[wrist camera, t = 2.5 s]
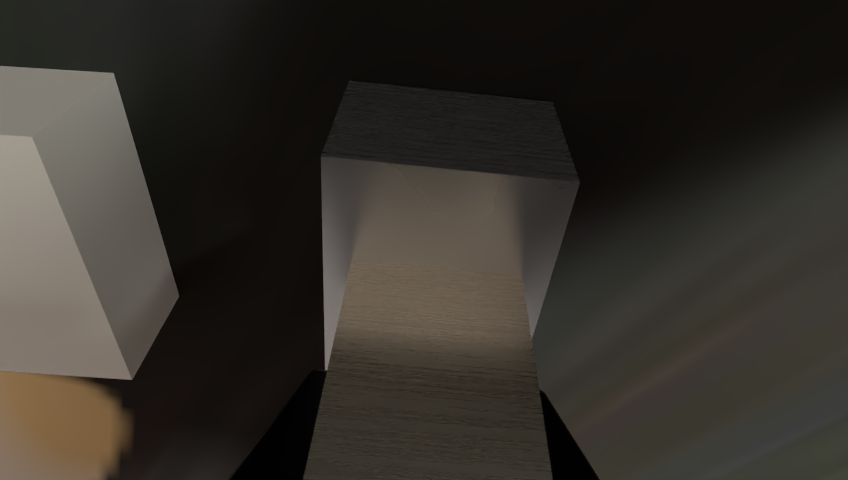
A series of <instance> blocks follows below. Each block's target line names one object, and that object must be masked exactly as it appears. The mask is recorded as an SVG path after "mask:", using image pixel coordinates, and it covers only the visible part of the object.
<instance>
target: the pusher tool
mask: <svg viewBox="0 0 848 480" xmlns="http://www.w3.org/2000/svg"><path fill="white" fill-rule="evenodd" d="M579 184H580V181H579V178H578V175H577V172H576V169H575V166H574V163H573V160H572V157H571V154H570V151H569V148H568V146H567V143H566V140H565V137H564V134H563V131H562V128H561V125H560V122H559V119H558V116H557V113H556V111H555V108H554V105H553V102H549V101H540V100H530V99H521V98H511V97H502V96H492V95H483V94H473V93H464V92H454V91H445V90H435V89H426V88H416V87H407V86H397V85H388V84H378V83H369V82H359V81H350V80H349V82H348V85H347V88H346V90H345V93H344V96H343V98H342V101H341V104H340V106H339V109H338V112H337V114H336V117H335V120H334V122H333V125H332V128H331V130H330V133H329V136H328V138H327V141H326V144H325V146H324V149H323V152H322V154H321V189H322V238H323V287H324V337H325V370H327V373H326V378H325V382H324V387H323V392H322V396H321V401H320V405H319V410H318V414H317V419H316V423H315V428H314V432H313V437H312V441H311V446H310V450H309V455H308V459H307V464H306V469H305V473H304V478H303V480H553V478H552V471H551V465H550V458H549V451H548V445H547V438H546V431H545V425H544V418H543V411H542V405H541V398H540V392H539V385H538V378H537V372H536V365H535V358H534V352H533V345H532V337H533V334H534V331H535V327H536V324H537V321H538V318H539V314H540V311H541V308H542V305H543V301H544V298H545V295H546V292H547V288H548V285H549V282H550V279H551V275H552V272H553V269H554V266H555V262H556V259H557V256H558V253H559V249H560V246H561V243H562V240H563V236H564V233H565V230H566V227H567V223H568V220H569V217H570V214H571V210H572V207H573V204H574V201H575V197H576V194H577V191H578V188H579Z"/></svg>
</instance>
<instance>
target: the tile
mask: <svg viewBox="0 0 848 480" xmlns="http://www.w3.org/2000/svg"><path fill="white" fill-rule="evenodd" d="M178 298H179V293H178V290H177V287H176V283H175V280H174V276H173V273H172V270H171V266H170V263H169V259H168V256H167V253H166V249H165V246H164V242H163V239H162V236H161V232H160V229H159V225H158V222H157V219H156V215H155V212H154V208H153V205H152V202H151V198H150V195H149V191H148V188H147V185H146V181H145V178H144V174H143V171H142V168H141V164H140V161H139V157H138V154H137V151H136V147H135V144H134V140H133V137H132V134H131V130H130V127H129V123H128V120H127V117H126V113H125V110H124V106H123V103H122V100H121V96H120V93H119V90H118V86H117V83H116V79H115V76H114V73H104V72H88V71H72V70H56V69H40V68H24V67H8V66H0V371H4V372H19V373H34V374H50V375H65V376H81V377H96V378H111V379H127V380H132V379H133V378H134V376H135V374H136V372H137V370H138V369H139V367H140V365H141V363H142V362H143V360H144V358H145V356H146V354H147V353H148V351H149V349H150V347H151V346H152V344H153V342H154V340H155V338H156V337H157V335H158V333H159V331H160V330H161V328H162V326H163V324H164V322H165V321H166V319H167V317H168V315H169V314H170V312H171V310H172V308H173V306H174V305H175V303H176V301H177V299H178Z"/></svg>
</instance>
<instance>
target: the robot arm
mask: <svg viewBox="0 0 848 480" xmlns="http://www.w3.org/2000/svg"><path fill="white" fill-rule="evenodd" d="M326 373H327V370H319V369H315V370H313V371H312V372H311V373H310V374H309V375H308V376H307V377H306V379H305V380H304V381H303V383H302V384H301V385H300V387H299V388H298V389H297V390H296V392H295V393H294V394H293V396H292V397H291V398H290V399H289V401H288V402H287V403H286V405H285V406H284V407H283V409H282V410H281V411H280V412H279V414H278V415H277V416H276V418H275V419H274V420H273V421H272V423H271V424H270V425H269V427H268V428H267V429H266V431H265V432H264V433H263V434H262V436H261V437H260V438H259V440H258V441H257V442H256V443H255V445H254V446H253V447H252V449H251V450H250V451H249V453H248V454H247V455H246V456H245V458H244V459H243V460H242V462H241V463H240V464H239V465H238V467H237V468H236V469H235V471H234V472H233V473H232V475H231V476H230V477H229V478H228V480H303V478H304V473H305V469H306V464H307V459H308V455H309V450H310V446H311V441H312V437H313V432H314V428H315V423H316V419H317V414H318V410H319V405H320V401H321V396H322V392H323V387H324V382H325V378H326ZM539 392H540V398H541V405H542V411H543V418H544V425H545V431H546V438H547V445H548V451H549V458H550V465H551V471H552V478H553V480H600V479H599V478H598V476H597V475H596V473H595V471H594V470H593V468H592V467H591V465H590V464H589V462H588V460H587V459H586V457H585V456H584V454H583V453H582V451H581V449H580V448H579V446H578V445H577V443H576V442H575V440H574V438H573V437H572V435H571V434H570V432H569V431H568V429H567V427H566V426H565V424H564V423H563V421H562V419H561V418H560V416H559V415H558V413H557V412H556V410H555V408H554V407H553V405H552V404H551V402H550V401H549V399H548V397H547V396H546V394H545V393H544V392H543V391H541V390H539Z"/></svg>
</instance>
